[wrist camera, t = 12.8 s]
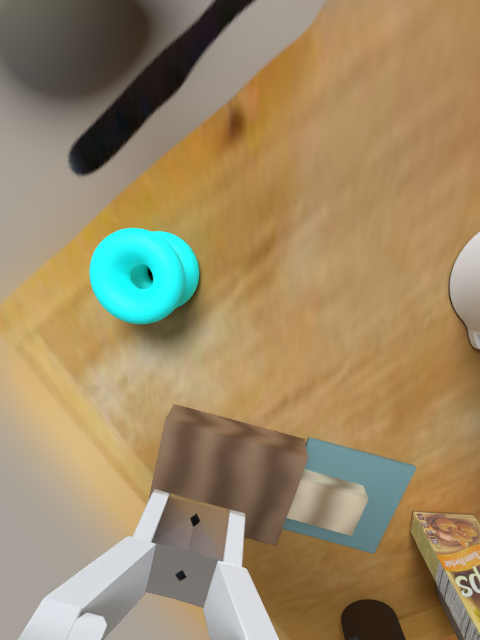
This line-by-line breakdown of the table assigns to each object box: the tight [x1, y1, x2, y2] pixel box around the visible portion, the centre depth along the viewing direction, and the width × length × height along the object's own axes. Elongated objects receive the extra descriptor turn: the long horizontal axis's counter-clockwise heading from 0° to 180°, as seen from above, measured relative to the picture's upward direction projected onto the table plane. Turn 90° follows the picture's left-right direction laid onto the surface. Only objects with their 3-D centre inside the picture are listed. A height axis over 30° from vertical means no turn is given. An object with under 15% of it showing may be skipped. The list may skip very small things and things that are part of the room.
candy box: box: [410, 511, 480, 640], centre depth 38 cm, size 9×4×15 cm, turn 91°
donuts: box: [90, 228, 199, 324], centre depth 34 cm, size 10×10×10 cm
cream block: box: [286, 469, 369, 536], centre depth 44 cm, size 10×7×2 cm
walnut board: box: [149, 404, 308, 545], centre depth 44 cm, size 20×16×4 cm
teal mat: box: [282, 437, 416, 554], centre depth 45 cm, size 16×17×1 cm
